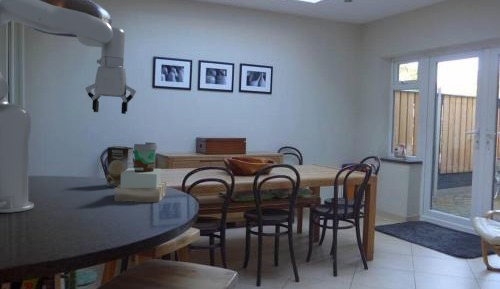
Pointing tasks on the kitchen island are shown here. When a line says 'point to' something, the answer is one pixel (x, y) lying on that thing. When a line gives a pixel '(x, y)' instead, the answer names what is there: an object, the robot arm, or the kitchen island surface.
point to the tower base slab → (140, 193)
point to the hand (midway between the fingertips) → (109, 112)
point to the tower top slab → (140, 179)
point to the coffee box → (118, 163)
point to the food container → (144, 157)
